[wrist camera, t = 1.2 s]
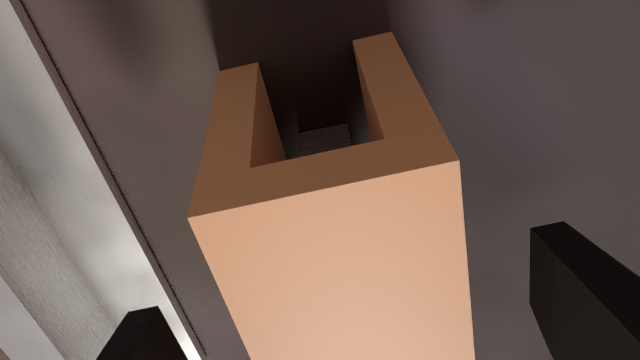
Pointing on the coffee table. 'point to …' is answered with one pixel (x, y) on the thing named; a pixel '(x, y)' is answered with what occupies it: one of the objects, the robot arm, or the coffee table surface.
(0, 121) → the rail
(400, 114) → the clip
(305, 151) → the wooden toy block
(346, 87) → the coffee table surface
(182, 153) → the coffee table surface
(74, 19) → the coffee table surface
